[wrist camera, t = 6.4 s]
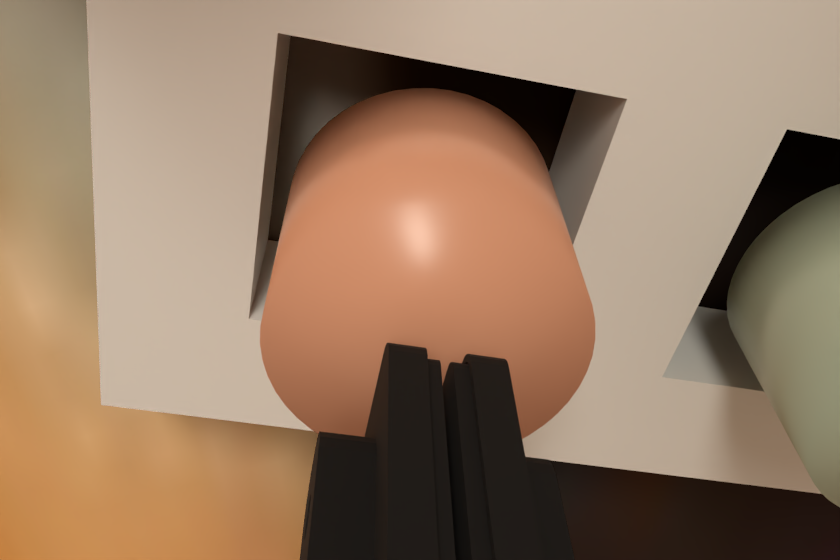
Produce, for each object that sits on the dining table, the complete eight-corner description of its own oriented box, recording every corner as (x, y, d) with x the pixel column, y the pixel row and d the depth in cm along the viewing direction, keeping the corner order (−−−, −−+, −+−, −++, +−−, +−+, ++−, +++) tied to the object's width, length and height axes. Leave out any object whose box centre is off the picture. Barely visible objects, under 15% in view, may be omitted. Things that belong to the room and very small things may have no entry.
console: (136, -237, 13) (78, -225, 11) (1557, 89, 17) (1747, 151, 15) (137, 320, 20) (101, 404, 18) (1159, 461, 24) (1245, 546, 22)
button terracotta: (306, 63, 14) (276, 176, 10) (587, 115, 14) (645, 236, 11) (277, 297, 16) (247, 443, 13) (513, 331, 17) (541, 479, 14)
